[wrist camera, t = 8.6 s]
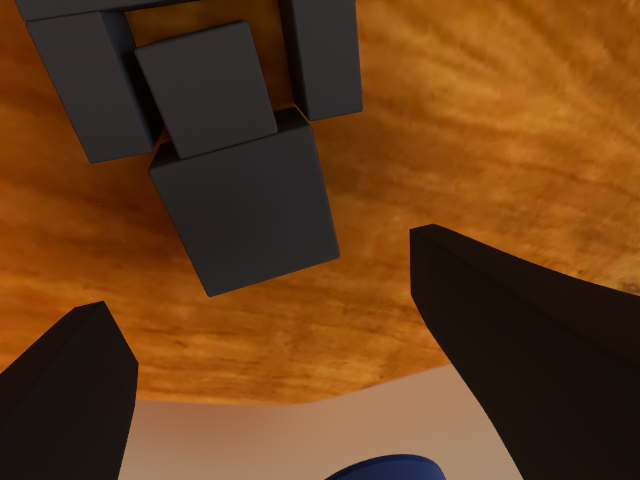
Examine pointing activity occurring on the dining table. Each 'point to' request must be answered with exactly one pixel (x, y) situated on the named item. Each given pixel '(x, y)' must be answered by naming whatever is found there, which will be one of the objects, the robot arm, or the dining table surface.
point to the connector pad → (234, 162)
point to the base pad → (131, 86)
